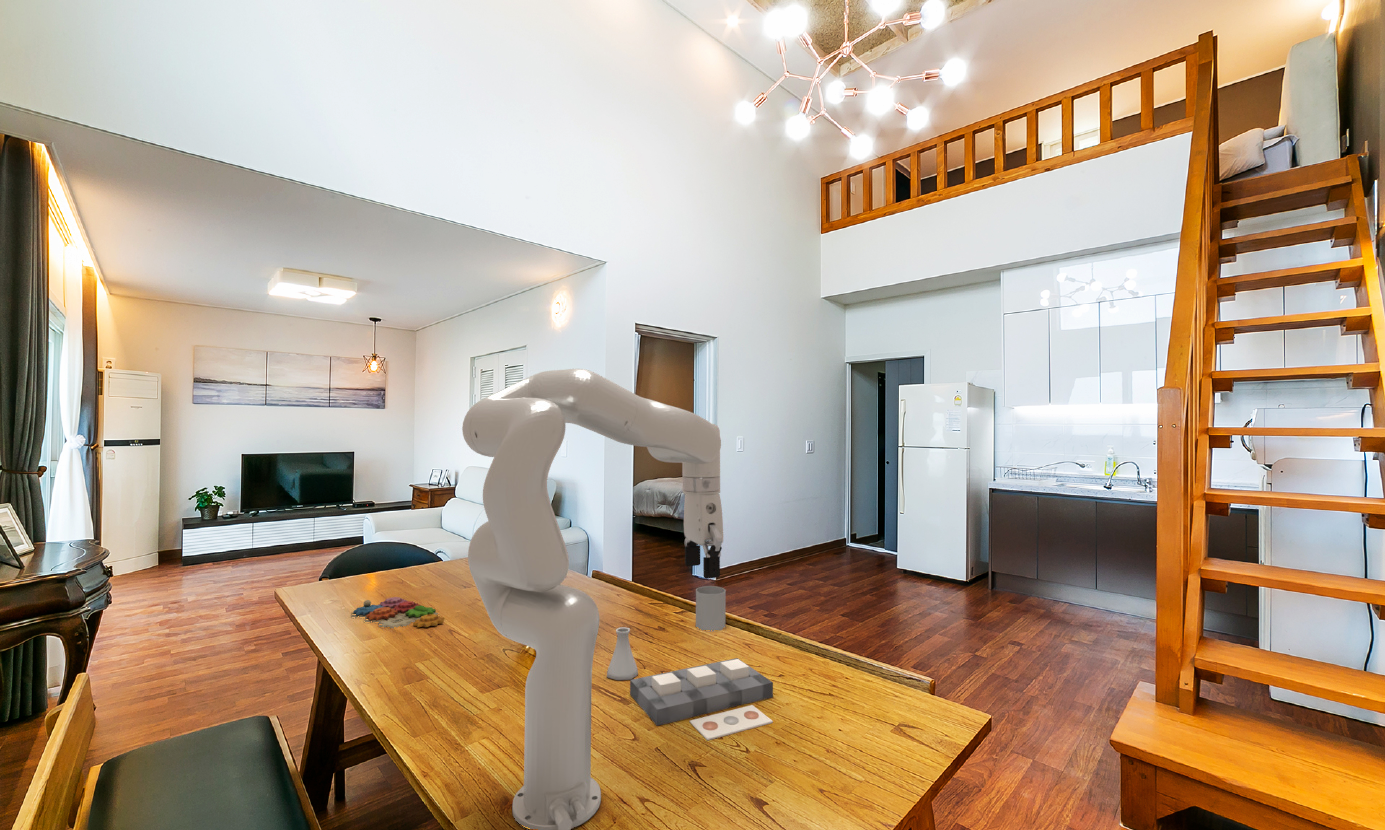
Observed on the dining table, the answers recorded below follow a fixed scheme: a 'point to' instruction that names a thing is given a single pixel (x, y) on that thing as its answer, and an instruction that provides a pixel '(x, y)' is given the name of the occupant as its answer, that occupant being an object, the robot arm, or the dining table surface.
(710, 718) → the pattern card
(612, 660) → the flask
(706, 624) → the cup
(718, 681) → the button board
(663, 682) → the button
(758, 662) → the dining table surface
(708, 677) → the button
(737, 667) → the button
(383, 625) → the gear puzzle
